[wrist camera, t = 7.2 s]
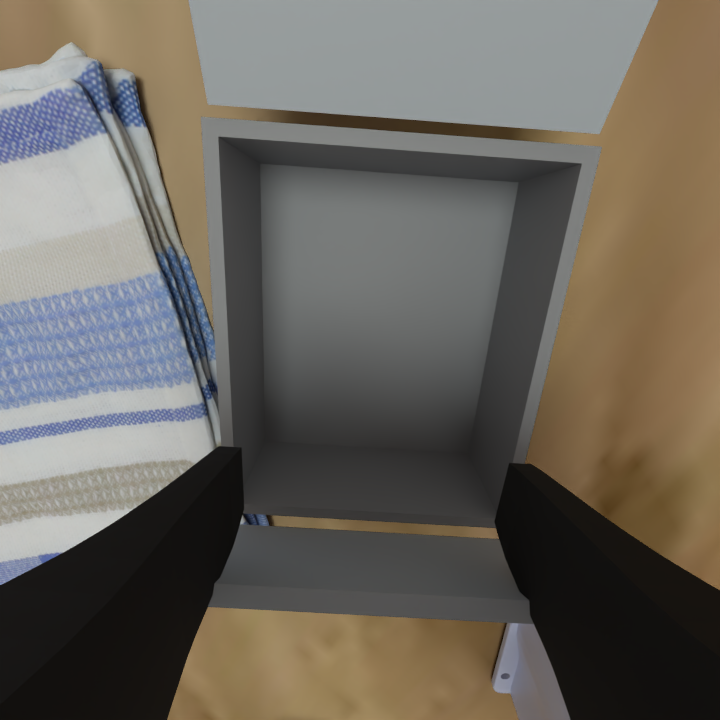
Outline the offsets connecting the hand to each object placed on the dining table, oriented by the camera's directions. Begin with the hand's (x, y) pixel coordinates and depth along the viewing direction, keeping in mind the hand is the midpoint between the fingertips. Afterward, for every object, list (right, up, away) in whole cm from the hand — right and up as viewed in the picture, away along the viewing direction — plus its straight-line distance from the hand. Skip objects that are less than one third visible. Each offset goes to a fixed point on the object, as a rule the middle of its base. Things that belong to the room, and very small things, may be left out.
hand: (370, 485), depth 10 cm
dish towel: (-14, +2, +7) cm, 16 cm away
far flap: (0, -2, +1) cm, 2 cm away
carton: (0, +5, +5) cm, 7 cm away
